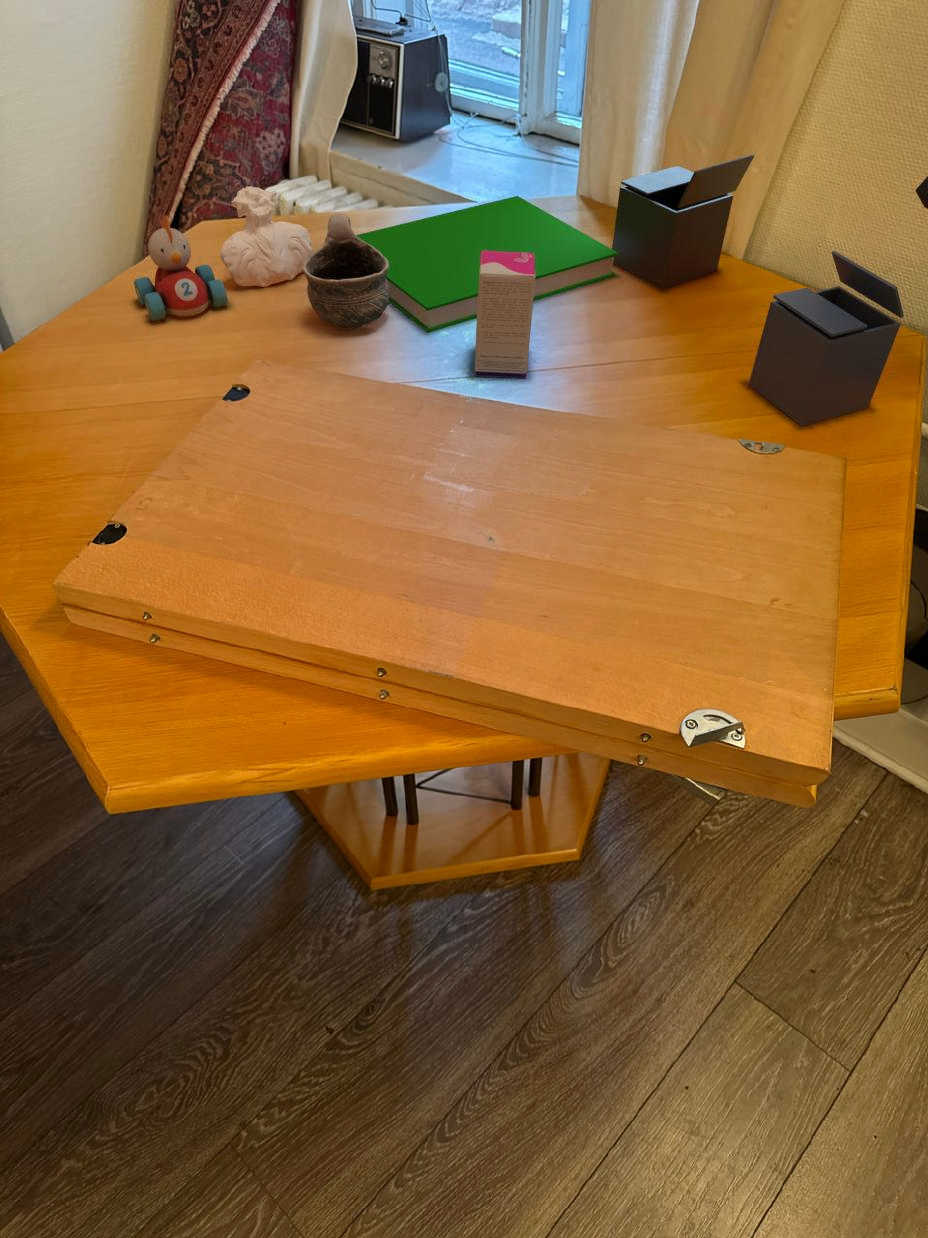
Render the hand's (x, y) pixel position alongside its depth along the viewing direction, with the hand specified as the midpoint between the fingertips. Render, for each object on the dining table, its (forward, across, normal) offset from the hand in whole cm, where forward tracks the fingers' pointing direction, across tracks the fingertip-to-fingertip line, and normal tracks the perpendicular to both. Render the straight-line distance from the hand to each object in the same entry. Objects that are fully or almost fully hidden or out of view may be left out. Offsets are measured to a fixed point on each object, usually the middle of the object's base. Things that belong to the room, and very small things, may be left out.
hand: (926, 201), depth 83 cm
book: (+31, -43, -7) cm, 53 cm away
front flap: (+8, -1, +2) cm, 8 cm away
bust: (+47, -51, -26) cm, 74 cm away
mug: (+44, -38, -21) cm, 62 cm away
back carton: (+16, -34, +10) cm, 38 cm away
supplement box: (+36, -20, -12) cm, 43 cm away
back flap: (+6, -28, +3) cm, 29 cm away
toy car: (+55, -48, -34) cm, 80 cm away
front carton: (+19, -1, +8) cm, 20 cm away
